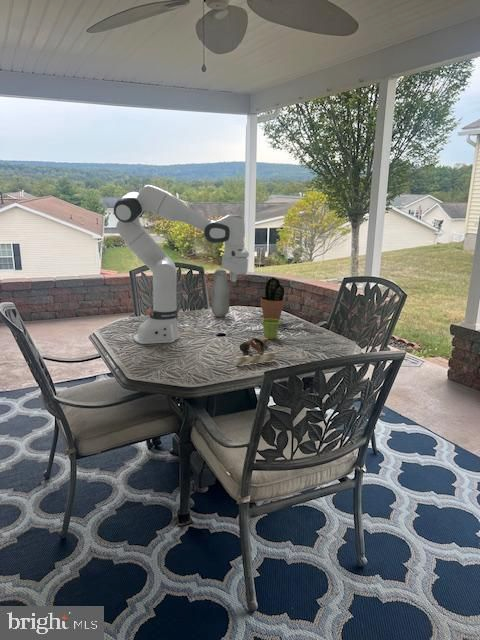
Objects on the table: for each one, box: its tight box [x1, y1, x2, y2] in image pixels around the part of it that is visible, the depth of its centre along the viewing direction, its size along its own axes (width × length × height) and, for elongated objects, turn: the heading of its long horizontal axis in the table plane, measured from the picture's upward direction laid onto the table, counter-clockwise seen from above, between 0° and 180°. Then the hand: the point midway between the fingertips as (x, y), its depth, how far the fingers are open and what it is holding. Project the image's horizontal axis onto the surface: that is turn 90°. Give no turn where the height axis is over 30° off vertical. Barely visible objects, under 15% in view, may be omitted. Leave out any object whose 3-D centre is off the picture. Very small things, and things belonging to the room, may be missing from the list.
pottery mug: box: [239, 337, 266, 355], centre depth 203 cm, size 12×10×8 cm
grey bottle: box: [210, 268, 230, 318], centre depth 264 cm, size 10×10×28 cm
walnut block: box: [255, 336, 269, 347], centre depth 215 cm, size 4×4×4 cm
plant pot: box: [261, 318, 281, 340], centre depth 229 cm, size 9×9×9 cm
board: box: [235, 351, 276, 365], centre depth 192 cm, size 18×2×5 cm, turn 116°
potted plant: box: [260, 277, 285, 321], centre depth 258 cm, size 14×14×25 cm
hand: (233, 281), depth 209 cm, fingers closed
